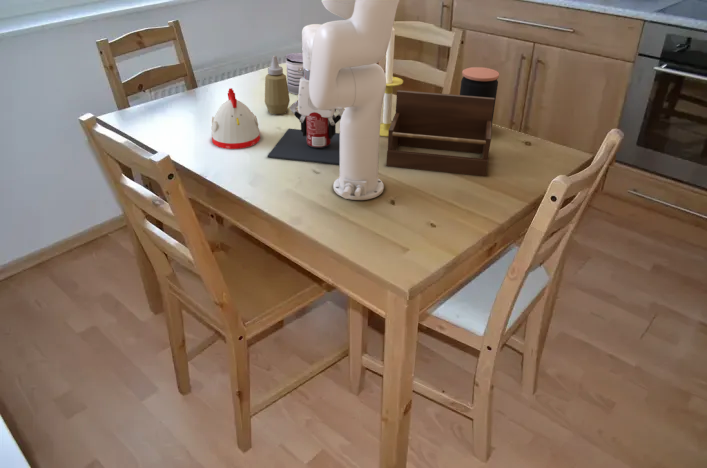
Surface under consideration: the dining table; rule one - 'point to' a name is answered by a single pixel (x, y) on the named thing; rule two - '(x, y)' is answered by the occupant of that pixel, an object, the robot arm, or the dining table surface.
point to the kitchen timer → (234, 125)
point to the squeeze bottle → (276, 89)
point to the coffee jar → (480, 83)
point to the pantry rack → (440, 131)
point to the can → (294, 71)
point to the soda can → (317, 131)
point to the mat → (305, 149)
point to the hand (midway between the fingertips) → (318, 135)
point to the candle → (389, 87)
